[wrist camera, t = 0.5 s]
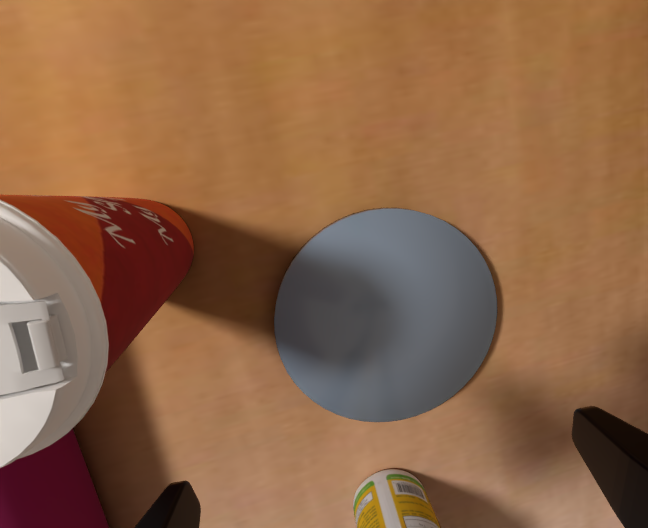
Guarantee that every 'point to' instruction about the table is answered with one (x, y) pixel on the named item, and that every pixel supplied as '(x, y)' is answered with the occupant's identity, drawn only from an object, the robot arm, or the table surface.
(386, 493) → the supplement bottle
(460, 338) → the slate dish
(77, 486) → the book
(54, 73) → the table surface
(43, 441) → the paper cup
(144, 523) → the robot arm
